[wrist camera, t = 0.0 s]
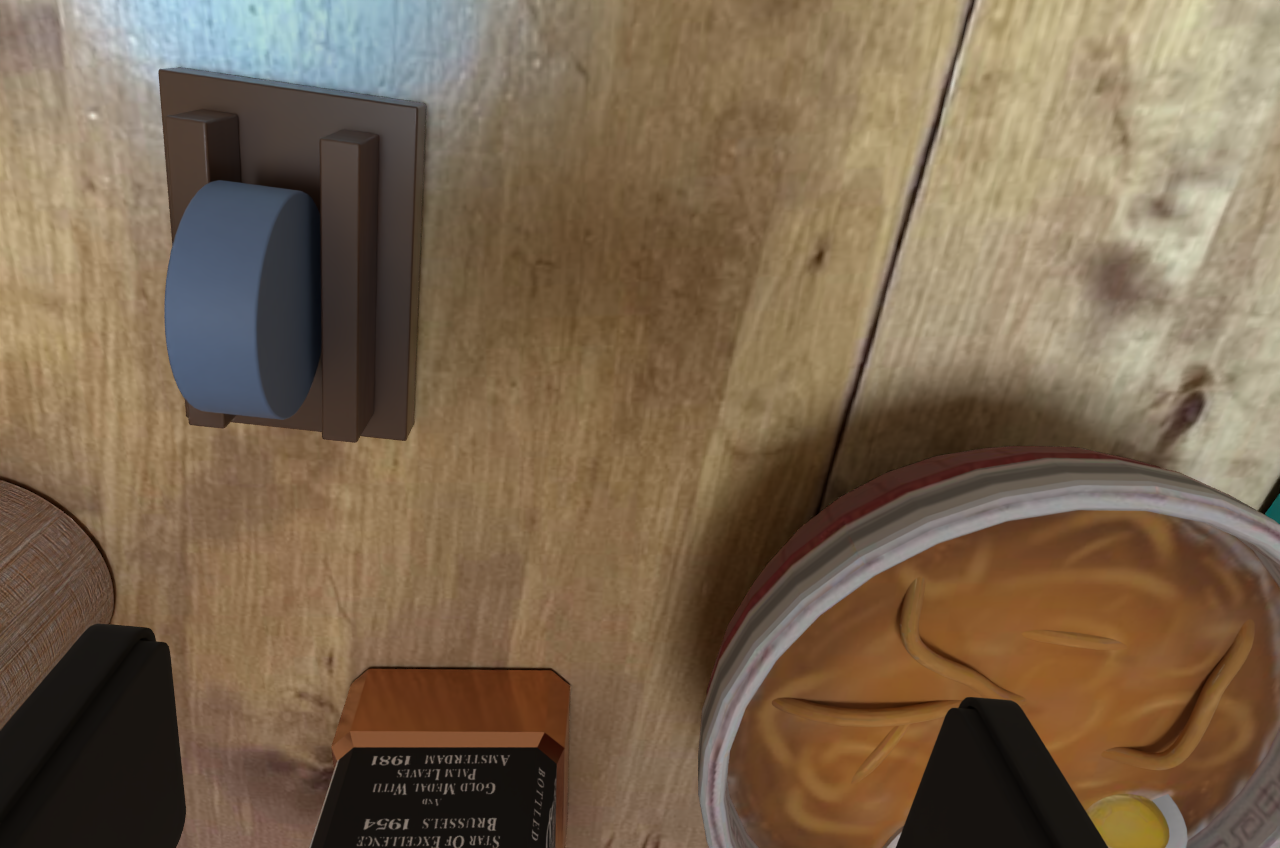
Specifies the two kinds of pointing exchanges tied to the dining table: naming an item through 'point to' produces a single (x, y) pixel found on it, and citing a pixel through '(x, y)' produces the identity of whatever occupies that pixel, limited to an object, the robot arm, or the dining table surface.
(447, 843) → the whiskey bottle
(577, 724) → the dining table surface
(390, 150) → the rack
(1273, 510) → the boat on round base
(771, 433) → the dining table surface
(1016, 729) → the robot arm
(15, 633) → the planter
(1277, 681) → the bowl
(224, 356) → the disc
